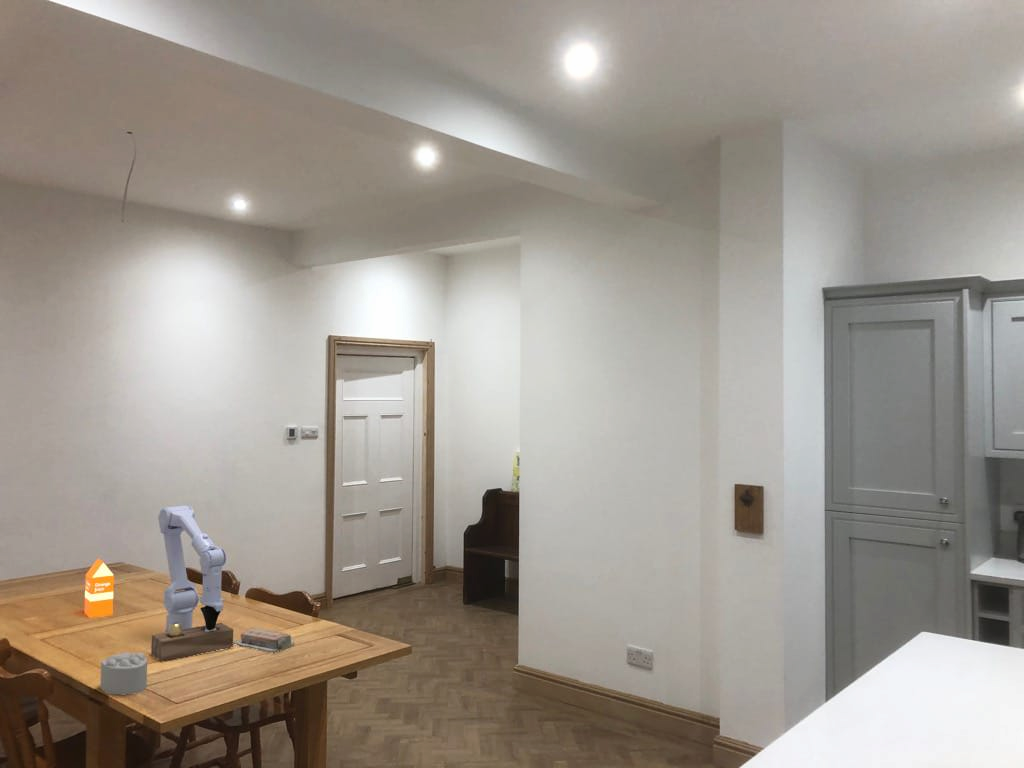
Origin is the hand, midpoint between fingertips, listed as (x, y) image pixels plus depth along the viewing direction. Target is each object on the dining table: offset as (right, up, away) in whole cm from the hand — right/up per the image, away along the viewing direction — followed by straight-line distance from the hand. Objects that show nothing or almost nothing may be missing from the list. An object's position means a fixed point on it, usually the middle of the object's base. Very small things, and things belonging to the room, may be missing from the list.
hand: (210, 629), depth 248 cm
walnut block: (-4, -6, -4) cm, 8 cm away
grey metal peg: (0, -6, 0) cm, 6 cm away
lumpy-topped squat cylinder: (-9, -5, -36) cm, 38 cm away
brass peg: (-8, -2, -7) cm, 11 cm away
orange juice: (-57, -7, +38) cm, 68 cm away
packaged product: (+16, -7, +4) cm, 18 cm away
